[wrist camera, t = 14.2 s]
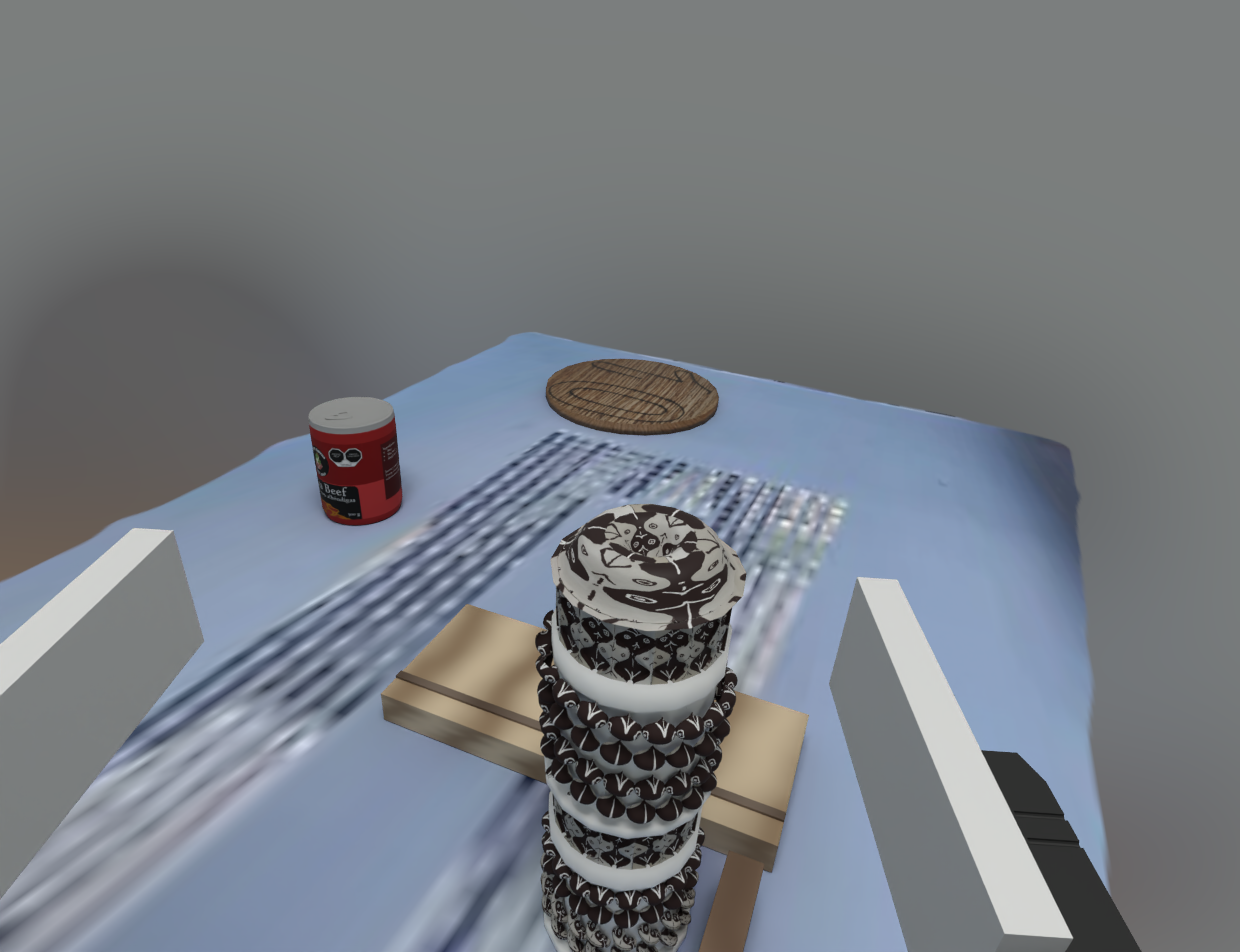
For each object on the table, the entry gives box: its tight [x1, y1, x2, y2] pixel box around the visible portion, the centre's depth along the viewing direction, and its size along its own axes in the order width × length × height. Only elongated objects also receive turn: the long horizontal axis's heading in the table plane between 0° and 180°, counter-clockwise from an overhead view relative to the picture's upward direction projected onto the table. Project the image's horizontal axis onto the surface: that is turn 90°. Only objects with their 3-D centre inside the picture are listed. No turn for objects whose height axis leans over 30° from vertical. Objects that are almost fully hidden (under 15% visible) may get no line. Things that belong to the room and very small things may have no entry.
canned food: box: [309, 397, 402, 525], centre depth 74 cm, size 8×8×11 cm
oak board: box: [381, 604, 809, 873], centre depth 52 cm, size 28×11×3 cm, turn 68°
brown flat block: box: [699, 850, 764, 952], centre depth 39 cm, size 2×6×4 cm, turn 158°
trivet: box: [546, 359, 719, 435], centre depth 107 cm, size 25×25×2 cm
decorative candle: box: [535, 504, 746, 952], centre depth 36 cm, size 9×9×25 cm
